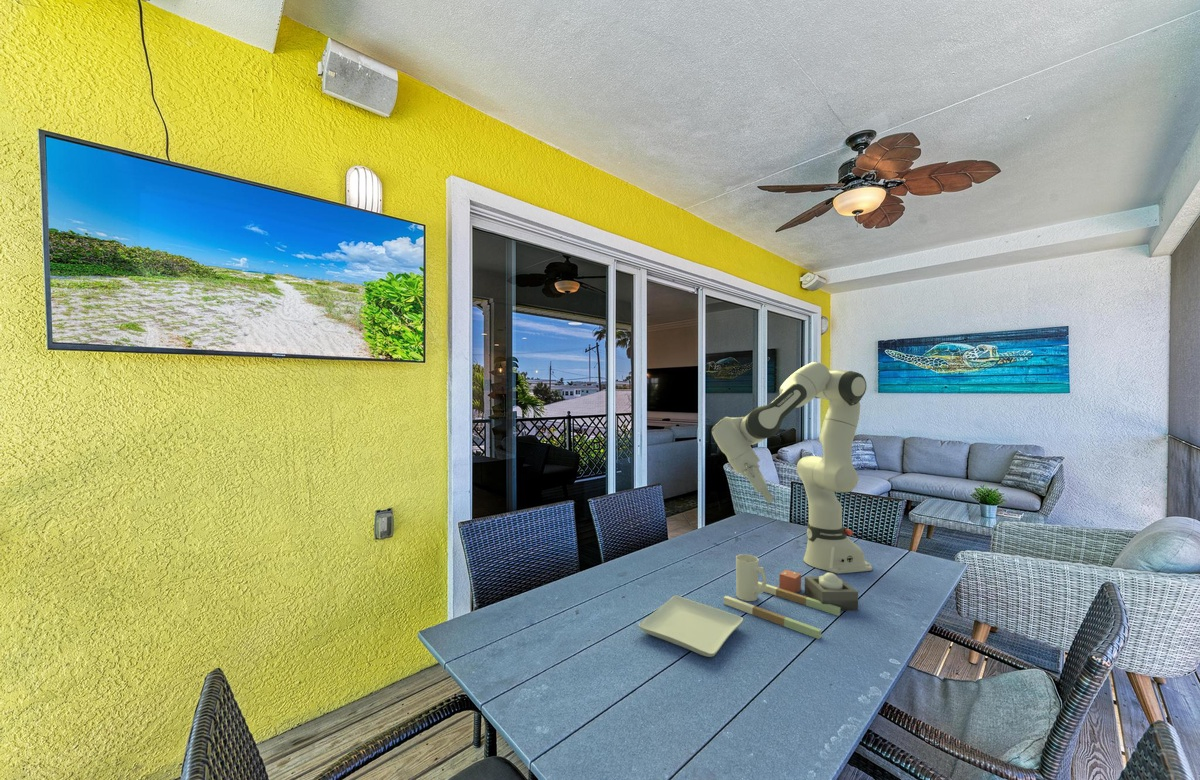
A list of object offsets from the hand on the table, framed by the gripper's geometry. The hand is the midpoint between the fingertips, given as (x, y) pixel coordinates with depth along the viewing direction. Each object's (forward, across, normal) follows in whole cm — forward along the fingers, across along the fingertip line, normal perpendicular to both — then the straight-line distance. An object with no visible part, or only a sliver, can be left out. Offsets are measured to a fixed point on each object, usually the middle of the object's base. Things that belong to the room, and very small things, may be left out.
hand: (770, 499), depth 145 cm
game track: (+26, -11, +15) cm, 32 cm away
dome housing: (+34, -1, +2) cm, 34 cm away
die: (+27, +4, +11) cm, 29 cm away
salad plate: (+15, -32, +36) cm, 50 cm away
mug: (+21, -7, +22) cm, 31 cm away
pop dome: (+30, -2, 0) cm, 30 cm away
